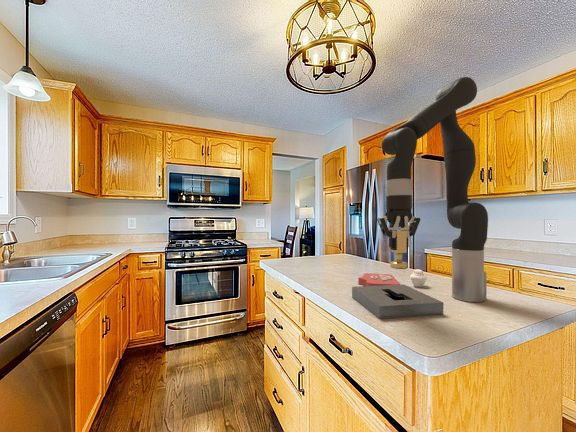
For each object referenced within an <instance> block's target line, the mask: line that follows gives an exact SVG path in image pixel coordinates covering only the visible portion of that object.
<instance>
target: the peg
mask: <svg viewBox="0 0 576 432" xmlns="http://www.w3.org/2000/svg"><path fill="white" fill-rule="evenodd" d="M395 238H396V250H391V249H390V251H391V252H392V253H395V255H394V256H395V260H392V261H389V267H390V268H391V269H394V270H395V269H396V270H407V269H408V266H409V265H408V262H407V261H403V254H404V253H405V254H406V253H408V252H407V250H408V248H407V231H401V230H400V229H398V230H397V231H396V237H395Z"/></svg>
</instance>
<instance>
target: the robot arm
mask: <svg viewBox="0 0 576 432" xmlns="http://www.w3.org/2000/svg"><path fill="white" fill-rule="evenodd" d="M477 95H478V86H477V84H476V82H475V80H474V79H473V78H471V77H469V76H462V77H460V78H457V79H455V80H454V81H452V82H450V83H448V84H445V85H444V86H442V87H441V88H439V89H438V90H437V92H436V94H435V101H434V102H432V103H431V104H429V105H427V106H426V107H423V108H422V109H421V110H419V111H418V112H417V113H415V114H414V115H413V116H411V117H410V118H409V119H408V120H407V121H406V122H404V123H403V124H400V125H399V126H398V127H395V128H394V129H393V130H391V131H390V132H388V133H387V134H386V135H384V137H383V139H382V141H381V149H382V151H383V152H384V153H385V154H387V155H389V156H394V159H392V161H390V162H389V163H388V164H387V165H386V185H385V209H386V210H385V211H386V212H385V215H384V216H382V217H378V218H377V219H376V221H377V223H378V226H379V228H380V231H381V233H382V235H383V236H386V237H387V238H388V248H390V251H391V250H396V238H395V237H396V231H397V230H401V231H407V249H409V246H410V245H409V244H410V243H409V241H410V240H409V239H410V237H413V236H415V235H416V233H417V230H418V227H419V224H420V222H421V218H420V217H417V216H413V213H412V209H413V185H412V164H413V161H414V158H415V153H416V150H417V145H418V140H419V139H421V138H423V137H424V136H425V135H426V134H428V133H429V132H430V131H431V130H432V129H433V128H435V127H436V126H437V125H438V124H440V130H441V131H440V132H441V137H442V145H443V161H444V168H445V169H444V170H445V180H446V193H447V195H446V197H447V198H446V199H447V200H446V215H447V217H446V218H447V221H448V223H449V225H450V226H451V227H453V228H455V229H460V232H459V233H460V234H459V236H458V237H457V238H455V239H453V240H452V242H451V296H452V298H453V299H456V300H459V301H463V302H469V303H482V302H484V301H487V287H488V286H487V272H486V271H485V246H486V242H487V240H488V230H489V229H488V228H489V213H488V211H487V208H486V207H485V205H483V204H482V203H478V202H469V194H468V190H469V184H470V183H471V182H470V181H471V179H472V177H473V174H474V171H475V169H476V163H477V159H476V158H477V157H476V147H475V143H474V141H473V140H472V139H471V138H470V136H469V135H468V134H467V133H466V132H465V131H464V130H463V129H462V127H461V126H460V124H459V122H458V117H457V111H458V110H459V109H462V108H463V107H465V106H468V105H469V104H471V103H472V102H474V100H475V99H476V97H477ZM387 222H388V225H387Z"/></svg>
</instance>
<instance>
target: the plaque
mask: <svg viewBox="0 0 576 432" xmlns="http://www.w3.org/2000/svg"><path fill="white" fill-rule="evenodd" d="M357 281H358V283H357V284H358V285H360V286H361V287H362V286H382V285H401V283H400V282H399V281H398V280H397V279H396V278H395V276H393V274H390V273H372V272H371V273H368V272H367V273H363V276H358V280H357Z"/></svg>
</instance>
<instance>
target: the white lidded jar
mask: <svg viewBox="0 0 576 432" xmlns="http://www.w3.org/2000/svg"><path fill="white" fill-rule="evenodd" d="M409 278H410V281H411V283H412V284H413V286H414V287H415V288H416V287H417V288H423V287H424V285H425V284H426V282H427V280H428V278H427V276H426V275H425V273H424V271H423V270H422V269H419V268H418V269H417V268H416V269H414V270H413V272H412V274H410V276H409Z"/></svg>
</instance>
